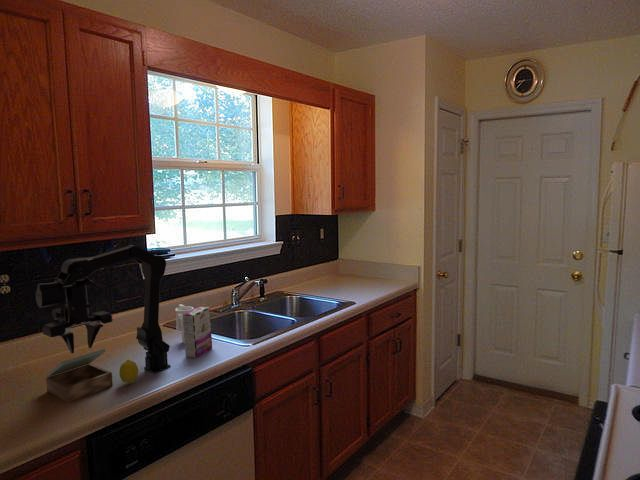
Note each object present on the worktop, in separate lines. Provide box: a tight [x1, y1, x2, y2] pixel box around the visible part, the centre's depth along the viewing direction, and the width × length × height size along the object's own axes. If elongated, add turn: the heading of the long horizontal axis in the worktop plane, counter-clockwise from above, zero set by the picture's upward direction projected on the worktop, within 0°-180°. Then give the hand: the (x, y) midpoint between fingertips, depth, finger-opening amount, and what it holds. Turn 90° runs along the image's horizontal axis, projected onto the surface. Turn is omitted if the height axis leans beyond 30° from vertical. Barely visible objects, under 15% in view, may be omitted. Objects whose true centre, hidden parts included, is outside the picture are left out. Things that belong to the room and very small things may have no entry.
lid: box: [46, 348, 106, 378], centre depth 147 cm, size 13×13×1 cm
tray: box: [45, 363, 114, 404], centre depth 147 cm, size 14×13×4 cm
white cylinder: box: [174, 303, 195, 344], centre depth 189 cm, size 7×7×15 cm
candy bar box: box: [183, 306, 213, 359], centre depth 177 cm, size 11×5×16 cm, turn 161°
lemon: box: [119, 359, 139, 385], centre depth 150 cm, size 6×6×8 cm
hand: (81, 350), depth 144 cm, fingers open, 5 cm apart
